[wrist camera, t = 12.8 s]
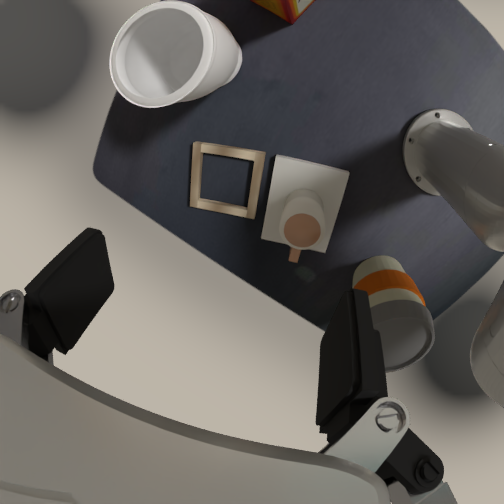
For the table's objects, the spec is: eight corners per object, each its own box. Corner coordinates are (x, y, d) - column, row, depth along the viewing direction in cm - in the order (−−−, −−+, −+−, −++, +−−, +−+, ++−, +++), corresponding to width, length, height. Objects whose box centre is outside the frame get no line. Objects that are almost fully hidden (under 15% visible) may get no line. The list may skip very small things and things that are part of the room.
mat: (348, 171, 36) (349, 173, 35) (324, 249, 43) (325, 252, 43) (276, 154, 37) (275, 156, 36) (262, 235, 44) (261, 238, 43)
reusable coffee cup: (328, 288, 48) (328, 360, 35) (370, 232, 40) (389, 301, 28) (383, 313, 48) (393, 380, 36) (426, 265, 41) (453, 332, 29)
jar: (211, 111, 35) (158, 131, 23) (161, 66, 32) (91, 69, 20) (267, 57, 29) (241, 41, 17) (212, 11, 26) (158, -19, 14)
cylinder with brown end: (288, 184, 38) (283, 205, 32) (328, 194, 37) (331, 216, 32) (277, 235, 43) (271, 263, 37) (313, 244, 42) (313, 272, 37)
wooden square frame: (265, 152, 37) (264, 154, 36) (255, 216, 43) (254, 219, 42) (195, 141, 38) (193, 142, 37) (192, 203, 43) (189, 206, 42)
